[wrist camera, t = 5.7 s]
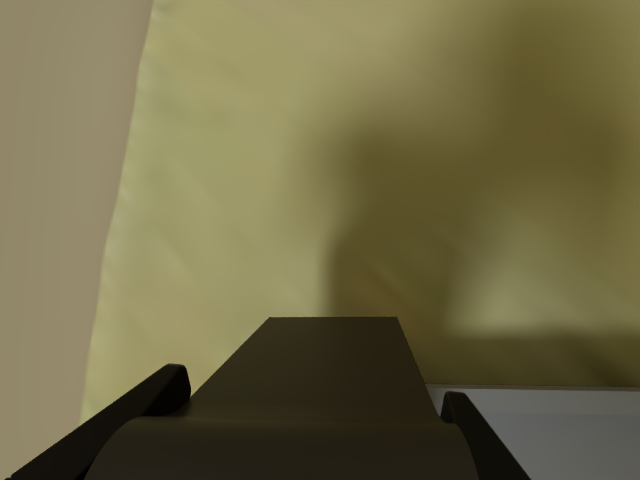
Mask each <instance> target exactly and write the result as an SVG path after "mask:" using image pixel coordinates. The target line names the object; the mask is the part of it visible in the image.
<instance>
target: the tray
mask: <svg viewBox="0 0 640 480" xmlns="http://www.w3.org/2000/svg"><path fill="white" fill-rule="evenodd" d="M425 385H426V388H427V390H428V392H429V395H430V397H431V399H432V402H433V404H434V407H435V409H436V411H437V413H438V415H439V416H440V415H441V409H442V404H443V399H444V394H445V393H446V392H447V391H456V392H463V393H465V394H466V395H467V396H468V397H469V399H470V400H471V401H472V403H473V404H474V405H475V406H476V408H477V409H478V410H479V412H480V413H481V414H482V416H483V417H484V418H485V420H486V421H487V422H488V423H489V425H490V426H491V427H492V429H493V430H494V431H495V433H496V434H497V435H498V437H499V438H500V439H501V440H502V442H503V443H504V444H505V446H506V447H507V448H508V450H509V451H510V452H511V454H512V455H513V456H514V457H515V459H516V460H517V461H518V463H519V464H520V465H521V467H522V468H523V469H524V471H525V472H526V473H527V474H528V476H529V477H530V478H531V480H640V387H599V386H536V385H473V384H425Z"/></svg>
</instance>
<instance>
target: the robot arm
mask: <svg viewBox="0 0 640 480" xmlns="http://www.w3.org/2000/svg"><path fill="white" fill-rule="evenodd" d="M190 395H191V386H190V382H189V378H188V373H187V369H186V367H185V366H184V365H181V364H167V365H165V366H163V367H162V368H161V369H159V370H158V371H156V372H155V373H154V374H152V375H151V376H149V377H148V378H147V379H145V380H144V381H142V382H141V383H140V384H138V385H137V386H135V387H134V388H133V389H131V390H130V391H128V392H127V393H126V394H124V395H123V396H121V397H120V398H119V399H117V400H116V401H114V402H113V403H112V404H110V405H109V406H107V407H106V408H105V409H103V410H102V411H100V412H99V413H97V414H96V415H95V416H93V417H92V418H90V419H89V420H88V421H86V422H85V423H83V424H82V425H81V426H79V427H78V428H76V429H75V430H74V431H73V432H71V433H69V434H68V435H67V436H65V437H64V438H63V439H61V440H60V441H58V442H57V443H55V444H54V445H53V446H51V447H50V448H48V449H47V450H46V451H44V452H43V453H41V454H40V455H39V456H37V457H36V458H34V459H33V460H32V461H30V462H29V463H27V464H26V465H24V466H23V467H22V468H20V469H19V470H18V471H16V472H15V473H13V474H12V475H11V477H10V478H6V479H5V480H84V478H85V476H86V474H87V472H88V470H89V469H90V467H91V465H92V463H93V461H94V460H95V458H96V457H97V455H98V453H99V452H100V450H101V449H102V448H103V446H104V445H105V444H106V442H107V441H108V440H109V439H110V437H111V436H112V435H113V434H114V433H115V432H116V431H117V430H118V429H119V428H120V427H121V426H123V425H124V424H125V423H127V422H128V421H130V420H132V419H134V418H137V417H141V416H158V417H161V416H165V415H168V414H170V413H172V412H174V411H176V410H177V409H179V408H180V407H182V406H183V405H184V404H185V403H186V402H187V401H188V400H189V399H190ZM440 418H441V419H442V420H443V421H444V422H445V423H453V424H456V425H457V426H458V427H459V428H460V430H461V431H462V433H463V435H464V437H465V439H466V441H467V443H468V446H469V448H470V451H471V454H472V457H473V460H474V463H475V466H476V470H477V473H478V477H479V480H531V478H530V477H529V476H528V474H527V473H526V472H525V471H524V469H523V468H522V467H521V465H520V464H519V463H518V461H517V460H516V459H515V457H514V456H513V455H512V454H511V452H510V451H509V450H508V448H507V447H506V446H505V444H504V443H503V442H502V440H501V439H500V438H499V437H498V435H497V434H496V433H495V431H494V430H493V429H492V427H491V426H490V425H489V423H488V422H487V421H486V420H485V418H484V417H483V416H482V414H481V413H480V412H479V410H478V409H477V408H476V406H475V405H474V404H473V403H472V401H471V400H470V399H469V397H468V396H467V395H466V394H465V393H463V392H456V391H447V392H446V393H445V394H444V399H443V404H442V409H441V415H440Z"/></svg>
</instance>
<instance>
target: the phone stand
mask: <svg viewBox="0 0 640 480" xmlns="http://www.w3.org/2000/svg"><path fill="white" fill-rule="evenodd" d="M84 480H479V477H478V473H477V470H476V466H475V463H474V460H473V457H472V454H471V451H470V448H469V446H468V443H467V441H466V439H465V437H464V435H463V433H462V431H461V430H460V428H459V427H458V426H457V425H456V424H453V423H445V422H444V421H443V420H442V419H441V418H440V416H439V415H438V413H437V411H436V409H435V407H434V404H433V402H432V399H431V397H430V395H429V392H428V390H427V388H426V385H425V383H424V380H423V378H422V376H421V373H420V371H419V369H418V366H417V364H416V362H415V359H414V357H413V354H412V352H411V350H410V347H409V345H408V343H407V340H406V338H405V335H404V333H403V331H402V328H401V326H400V324H399V321H398V319H397V317H269V318H268V319H267V320H266V321H265V322H264V323H263V324H262V325H261V326H260V327H259V328H258V329H257V330H256V331H255V332H254V333H253V334H252V335H251V336H250V337H249V338H248V339H247V340H246V341H245V342H244V343H243V344H242V345H241V346H240V347H239V348H238V350H237V351H236V352H235V353H234V354H233V355H232V356H231V357H230V358H229V359H228V360H227V361H226V362H225V363H224V364H223V365H222V366H221V367H220V368H219V369H218V370H217V371H216V372H215V373H214V374H213V375H212V376H211V377H210V378H209V379H208V380H207V381H206V382H205V383H204V384H203V385H202V386H201V387H200V388H199V389H198V390H197V391H196V392H195V393H194V394H193V395H192V396H191V397H190V399H189V400H188V401H187V402H186V403H185V404H184V405H183V406H182V407H180V408H179V409H177V410H176V411H174V412H172V413H170V414H168V415H165V416H161V417H158V416H141V417H137V418H134V419H132V420H130V421H128V422H127V423H125V424H124V425H123V426H121V427H120V428H119V429H118V430H117V431H116V432H115V433H114V434H113V435H112V436H111V437H110V439H109V440H108V441H107V442H106V444H105V445H104V446H103V448H102V449H101V450H100V452H99V453H98V455H97V457H96V458H95V460H94V461H93V463H92V465H91V467H90V469H89V470H88V472H87V474H86V476H85V478H84Z"/></svg>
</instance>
